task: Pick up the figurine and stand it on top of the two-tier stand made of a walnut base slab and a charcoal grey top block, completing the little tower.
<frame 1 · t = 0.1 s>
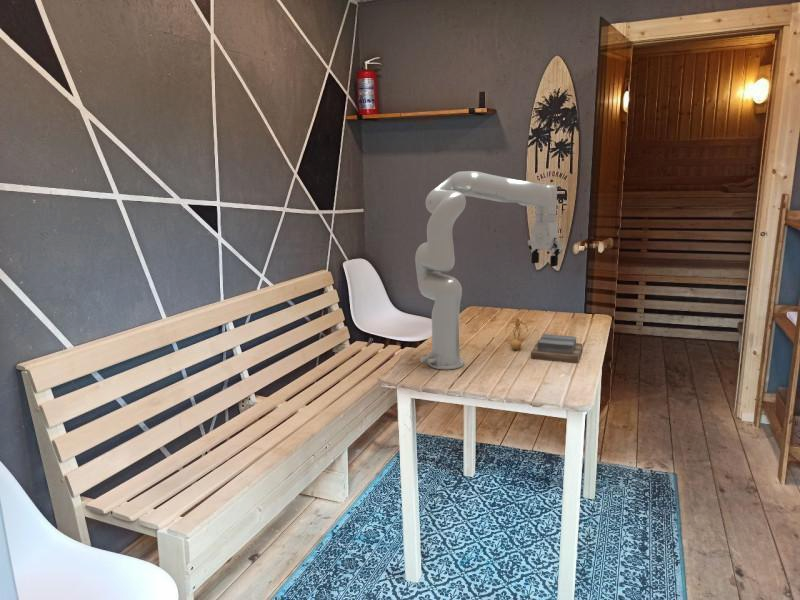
hand: (544, 264, 212), 31 cm above the table, tool pointing down, fingers open, 9 cm apart
figurine: (516, 349, 213), on the table
display stand: (556, 354, 206), on the table
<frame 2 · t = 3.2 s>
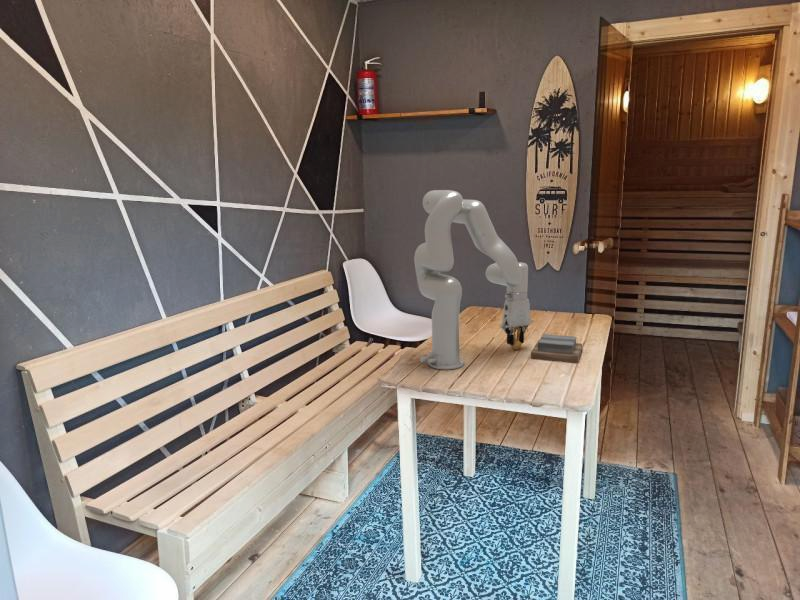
hand: (515, 342, 212), 3 cm above the table, tool pointing down, fingers closed on figurine, 4 cm apart
figurine: (516, 349, 213), on the table, touching gripper
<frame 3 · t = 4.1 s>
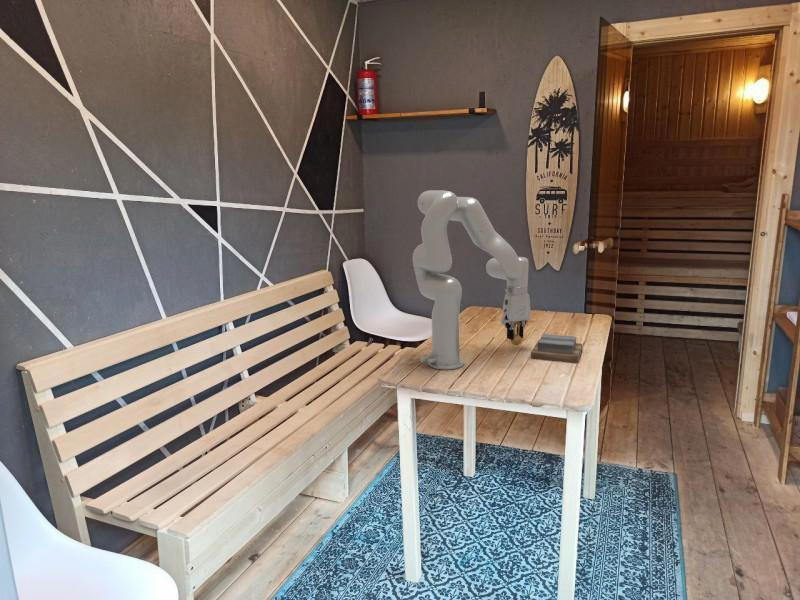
hand: (514, 337, 212), 5 cm above the table, tool pointing down, fingers closed on figurine, 3 cm apart
figurine: (516, 344, 213), point 2 cm above the table, touching gripper
when the fingers open (10 cm above the table, at t = 8.9 s): figurine drops 2 cm, resting on display stand.
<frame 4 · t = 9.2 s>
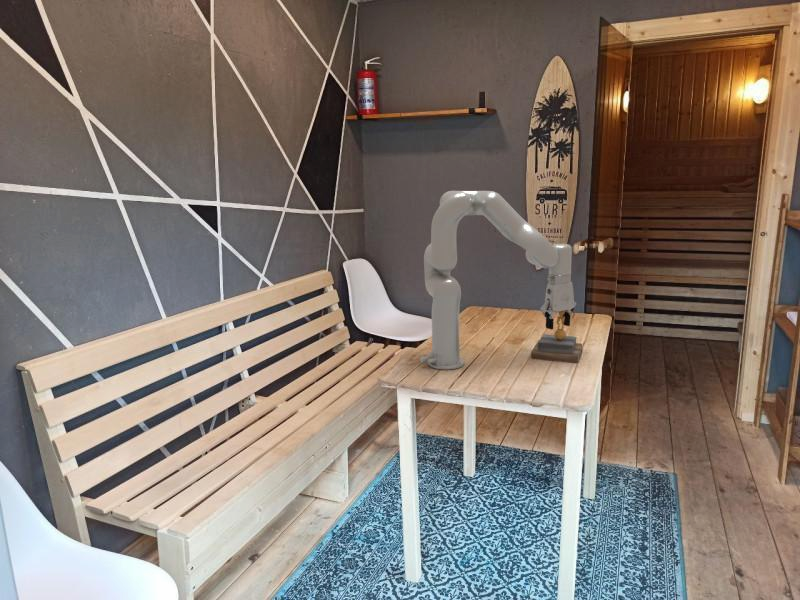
hand: (557, 326, 203), 10 cm above the table, tool pointing down, fingers open, 7 cm apart
figurine: (561, 339, 205), point 5 cm above the table, touching display stand, gripper
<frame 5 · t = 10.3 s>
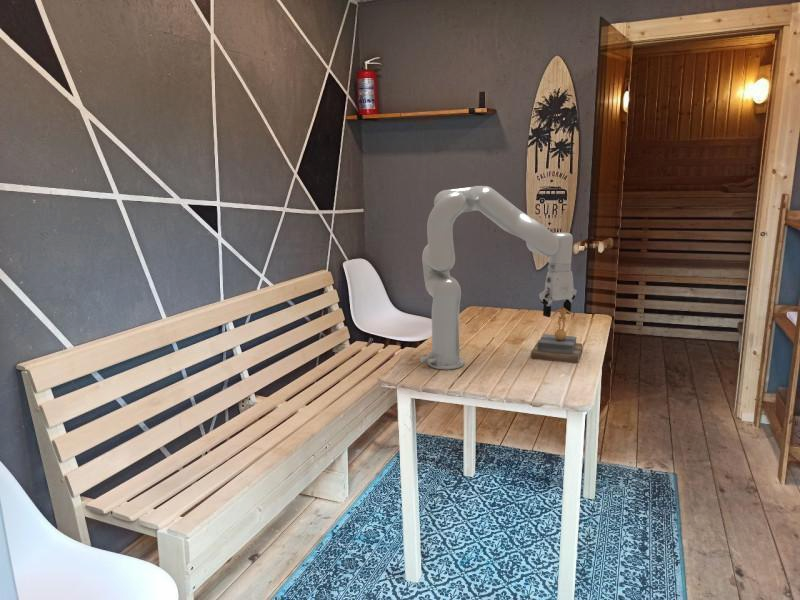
hand: (556, 314, 202), 15 cm above the table, tool pointing down, fingers open, 9 cm apart
nothing on the table moved.
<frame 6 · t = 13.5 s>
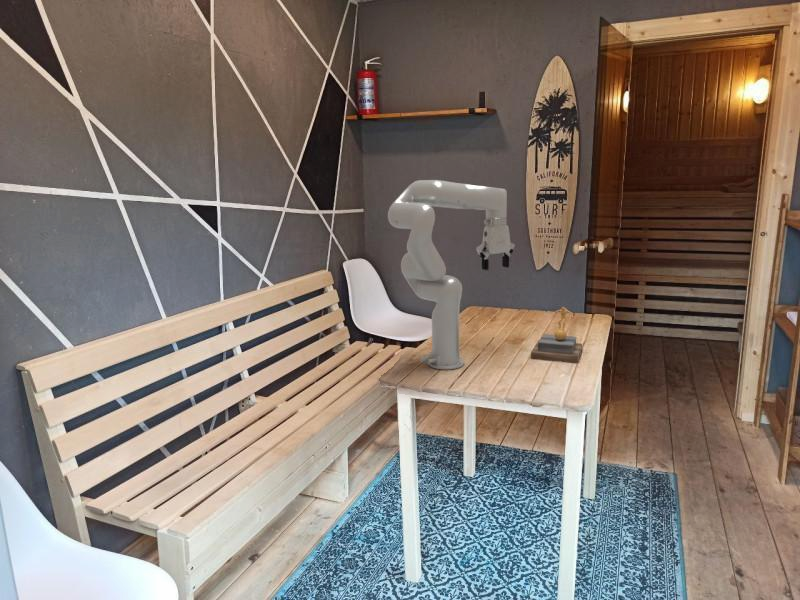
hand: (495, 268, 211), 30 cm above the table, tool pointing down, fingers open, 9 cm apart
figurine: (561, 340, 205), point 5 cm above the table, touching display stand
at the end: figurine inside the target area on the display stand (1.5 cm from its centre), point 5.3 cm above the display stand's base; figurine tilted 1°; the gripper is holding nothing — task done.
